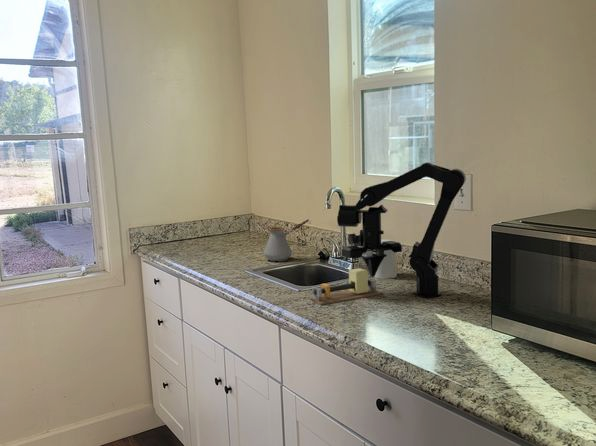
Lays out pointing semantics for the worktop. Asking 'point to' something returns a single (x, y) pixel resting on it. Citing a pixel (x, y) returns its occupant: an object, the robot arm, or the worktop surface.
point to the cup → (387, 265)
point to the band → (326, 290)
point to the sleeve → (358, 280)
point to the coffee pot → (279, 244)
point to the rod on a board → (342, 293)
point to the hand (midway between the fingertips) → (372, 276)
